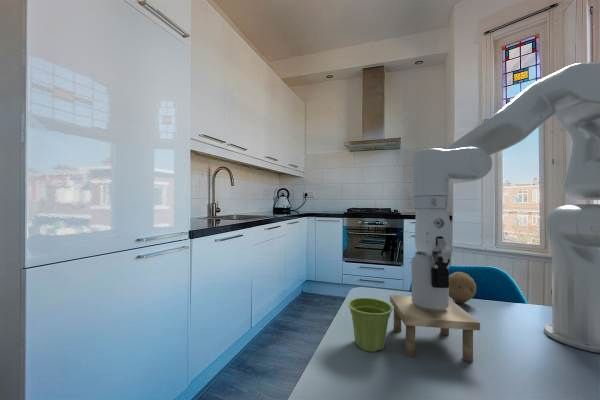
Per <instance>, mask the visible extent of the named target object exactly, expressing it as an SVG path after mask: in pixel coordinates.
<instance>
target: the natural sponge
mask: <svg viewBox="0 0 600 400" xmlns="http://www.w3.org/2000/svg"><path fill="white" fill-rule="evenodd" d="M476 293H477V284H476V282H475V280H474V279H473V278H472V277H471V276H470V275H469V274H468V273H465V272H462V271H455V272H453V273H451V274H449V298H451V299H452V301H453V302H455V303H458V304H464V303H467V302H468V301H470V300H471V299H473V298H474V297H475V295H476Z"/></svg>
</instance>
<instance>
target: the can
mask: <svg viewBox="0 0 600 400" xmlns="http://www.w3.org/2000/svg"><path fill="white" fill-rule="evenodd" d="M437 260H438V258H436V261H437ZM431 268H433V264H432V261H431V257H428V256H426V255H424V254H423V253H420V252H417V251H415V252H414V256H413V257H412V258H411V296H412V302H413V303H414V304H415V306H416V307H418V308H420V309H422V310H425V311H431V312H442V311H444V310H445V309H447V308H448V307H449V299H450V296H449V287H448V288H434V287H432V285H431Z"/></svg>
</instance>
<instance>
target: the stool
mask: <svg viewBox="0 0 600 400" xmlns="http://www.w3.org/2000/svg"><path fill="white" fill-rule="evenodd" d="M389 302H390V305H391V306H392V308H393V324H392V325H393V329H392V330H393V331H394V332H397V333H401V332H402V323H403V324H404V326H405V356H407V357H409V358H416V327H420V328H421V327H423V328H424V327H425V328H437V329H439V328H440V334H441V335H442V336H449V335H450V330H452V329H453V330H462V347H461V349H462V351H461V352H462V360H463V361H465V362H468V363H473V362H474V331H481V329H480V328H481V322H480V321H479V320H477V319H476V318H475V317H473V316H472V315H470V314H469V313H468V312H467V311H466V310H465V309H464V308H462V307H460V305H458V304H456V302H455V301H454V300H451V299H450V298H449V307H448V308H447V309H445V310H444V311H442V312H431V311H425V310H422V309H420V308H418V307H416V306H415V304H414V303H413V302H412V295H410V296H409V295H393V294H390V295H389Z"/></svg>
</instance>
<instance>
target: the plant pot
mask: <svg viewBox="0 0 600 400" xmlns="http://www.w3.org/2000/svg"><path fill="white" fill-rule="evenodd" d="M347 306H348V308H349V310H350V311H349V312H350V314H351V319H352V326H353V334H354V335H353V336H354V341H355V345H357V346H358V347H359V349H361V350H363V351H367V352H371V353H372V352H376V351H379V350H380V351H382V350H384V348H385V344H386V342H385V341H386V335H387V329H388V324H389V319H390V317H391V313H392V312H393V311H394V307H393V305H392V304H391V303H389V302H387V301H385V300H382V299H378V298H373V297H372V298H371V297H357V298H353V299H351V300H349V301H348V302H347Z"/></svg>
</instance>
